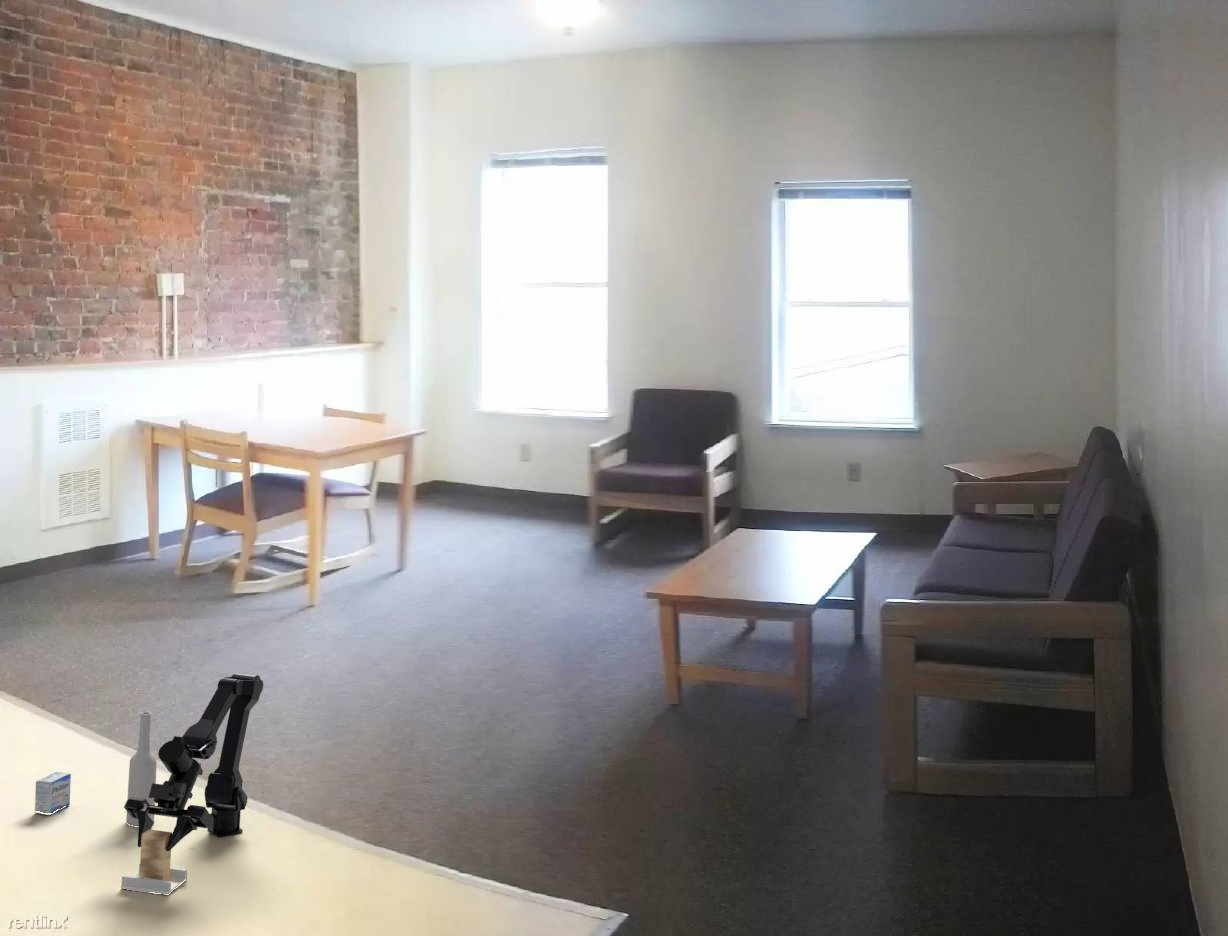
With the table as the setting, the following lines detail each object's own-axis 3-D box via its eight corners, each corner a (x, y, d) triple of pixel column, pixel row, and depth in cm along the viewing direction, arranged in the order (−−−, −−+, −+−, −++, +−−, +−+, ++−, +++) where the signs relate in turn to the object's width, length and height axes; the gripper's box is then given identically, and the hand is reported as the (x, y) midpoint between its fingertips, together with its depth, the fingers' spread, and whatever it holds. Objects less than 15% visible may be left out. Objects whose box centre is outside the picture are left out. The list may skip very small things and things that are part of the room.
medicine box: (49, 816, 297) (51, 782, 296) (33, 814, 298) (35, 780, 297) (70, 806, 305) (71, 773, 304) (54, 803, 305) (56, 770, 305)
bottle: (159, 819, 300) (164, 710, 299) (146, 828, 294) (151, 717, 292) (134, 816, 301) (139, 708, 299) (120, 825, 295) (126, 715, 293)
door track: (120, 889, 260) (121, 877, 259) (141, 874, 268) (142, 862, 268) (167, 896, 258) (168, 883, 258) (186, 880, 266) (187, 868, 266)
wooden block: (139, 882, 262) (141, 834, 261) (146, 877, 265) (148, 829, 264) (162, 886, 261) (165, 837, 260) (169, 880, 264) (171, 832, 263)
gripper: (130, 762, 266) (100, 827, 256) (208, 772, 264) (180, 838, 254) (147, 785, 275) (118, 849, 265) (223, 794, 272) (197, 860, 262)
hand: (153, 848), depth 261 cm, fingers open, 6 cm apart
